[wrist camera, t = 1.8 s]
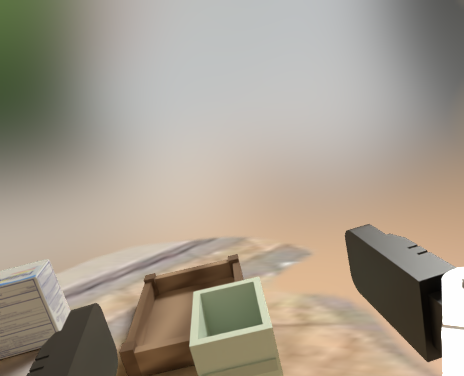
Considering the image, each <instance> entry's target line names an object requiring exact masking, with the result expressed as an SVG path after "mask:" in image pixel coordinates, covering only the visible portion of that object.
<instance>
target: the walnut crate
mask: <svg viewBox="0 0 464 376" xmlns="http://www.w3.org/2000/svg"><path fill="white" fill-rule="evenodd" d="M242 280H243V275H242V271H241V267H240V263H239V259H238V254H236V255H232V256H228V260H223V261H219V262H215V263H210V264H206V265H202V266H197V267H193V268H189V269H184V270H180V271H176V272H171V273H167V274H163V275H159V276H156V275H155V273H154V274H150V275H146V276H145V279H144V282H145V284H144V287H143V290H142V293H141V296H140V299H139V302H138V305H137V308H136V312H135V315H134V318H133V321H132V324H131V327H130V330H129V333H128V336H127V339H126V342H125V343H122V346H121V349H120V352H119V353H120V356H121V358H122V361H123V364H124V366H125V369H126V372H127V375H128V376H149V375H153V374H157V373H162V372H166V371H170V370H175V369H179V368H183V367H188V366H192V365H195V364H194V361H193V357H192V354H191V351H190V347H189V344H190V331H191V318H192V305H193V292H194V291H199V290H203V289H207V288H212V287H216V286H220V285H225V284H229V283H233V282H238V281H242Z"/></svg>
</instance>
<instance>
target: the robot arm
mask: <svg viewBox="0 0 464 376" xmlns="http://www.w3.org/2000/svg"><path fill="white" fill-rule="evenodd" d="M345 240H346V246H347V252H348V259H349V265H350V271H351V276H352V279H353V282H354V284H355V286H356V288H357V290H358V291H359V293H360V294H361V295H362V296H363V297H364V298H365V299H366V300H367V301H368V302H369V303H370V304H371V305H372V306H373V307H374V308H375V309H376V310H377V311H378V312H379V313H380V314H381V315H382V316H383V317H384V318H385V319H386V320H387V321H388V322H389V323H390V324H391V325H392V326H393V327H394V328H395V329H396V330H397V331H398V333H399V334H400V335H401V336H402V337H403V338H404V339H405V340H406V341H407V342H408V343H409V344H410V345H411V346H412V347H413V348H414V349H415V350H416V351H417V352H418V353H419V354H420V355H421V356H422V357H423V358H424V359H425V360H426V361H427V362H430V361H433V360H436V359H439V358H441V357H443V376H464V267H463V268H456V267H454V266H452V265H451V264H449V263H448V262H446V261H444V260H443V259H441V258H439V257H437V256H436V255H434V254H432V253H430V252H427V250H425V249H424V248H422V247H420V246H417V244H415V243H414V242H412V241H410V240H408V239H407V238H405V237H401V236H397V235H393V234H387V235H386V234H385V233H383V232H381V231H380V230H378V229H377V228H375V227H373V226H372V225H370V224H367V225H364V226H360V227H357V228H354V229H350V230H347V231H346V233H345ZM35 360H36V361H35V362H34V363H33V364H32V366H31V368H30V370H29V371H30V373H28V374H27V376H116V373H117V368H118V356H117V350H116V346H115V344H114V341H113V338H112V336H111V333H110V330H109V328H108V325H107V322H106V320H105V317H104V314H103V312H102V309H101V307H100V306H99V304H97V303H95V304H91V305H88V306H84V307H81V308H78V309H74V310H71V311H70V313H69V315H68V317H67V319H66V321H65V323H64V325H63V327H62V329H61V331H57V332H55V333H54V334H53V335H52V336H51V337H50V338H49V339H48V340H47V341H46V342H45V343H44V344H43V345H42V347H41V349H40V351H39V353H38V355H37V357H36V359H35Z"/></svg>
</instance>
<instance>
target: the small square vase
mask: <svg viewBox="0 0 464 376" xmlns="http://www.w3.org/2000/svg"><path fill="white" fill-rule="evenodd" d="M189 347H190V351H191V354H192V357H193V361H194V364H195V367H196V370H197V374H198V376H283V372H282V368H281V363H280V359H279V354H278V350H277V345H276V341H275V337H274V332H273V328H272V324H271V320H270V316H269V312H268V309H267V305H266V301H265V297H264V293H263V290H262V286H261V282H260V278H259V277H255V278H251V279H246V280H242V281H238V282H233V283H229V284H225V285H220V286H216V287H212V288H207V289H203V290H199V291H194V292H193V305H192V318H191V331H190V344H189Z"/></svg>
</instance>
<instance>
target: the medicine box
mask: <svg viewBox="0 0 464 376" xmlns="http://www.w3.org/2000/svg"><path fill="white" fill-rule="evenodd" d="M69 313H70V308H69V306H68V304H67V301H66V299H65V297H64V294H63V292H62V289H61V287H60V285H59V282H58V280H57V277H56V275H55V273H54V270H53V268H52V265H51V263H50V261H49V260H47V259H46V260H41V261H38V262H33V263H29V264H26V265H22V266H18V267H14V268H10V269H7V270H3V271H0V359H4V358H7V357H11V356H14V355H18V354H21V353H25V352H28V351H32V350H35V349H39V348H41V347H42V345H43V344H44V343H45V342H46V341H47V340H48V339H49V338H50V337H51V336H52V335H53V334H54V333H55V332H57V331H61V329H62V327H63V325H64V323H65V321H66V319H67V317H68V315H69Z"/></svg>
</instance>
